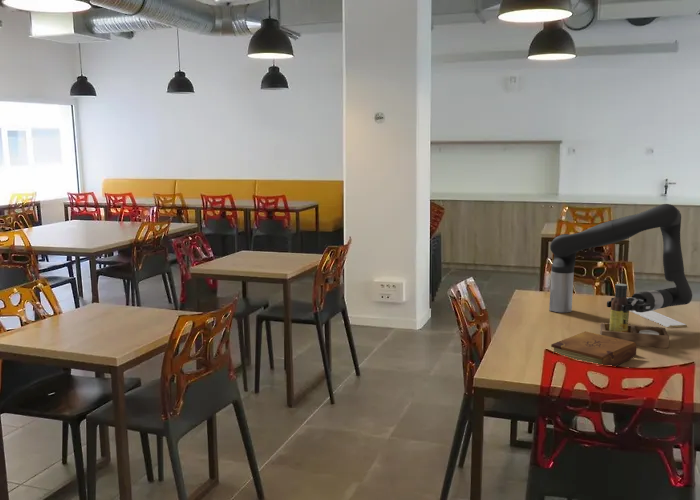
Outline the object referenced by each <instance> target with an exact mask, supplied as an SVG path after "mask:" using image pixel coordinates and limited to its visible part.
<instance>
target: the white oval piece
mask: <svg viewBox="0 0 700 500" xmlns="http://www.w3.org/2000/svg"><path fill="white" fill-rule="evenodd" d="M639 333H642V334H654V335H659V333H658V332H656V331H651V330H641V331H639Z"/></svg>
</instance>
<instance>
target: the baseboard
mask: <svg viewBox="0 0 700 500" xmlns="http://www.w3.org/2000/svg"><path fill="white" fill-rule="evenodd" d="M629 313H633V314H635V315H637V316H639V315H640V317H642V318H644V319H646V320H648V319H649V320H648V321H651V322H653V321H654V323H655V322H656V323H655V324H657V323H659V324H658V325H660V324H661V325H660V326H662V325H663V326H662V327H664V326H665V327H664V328H666V327H673V328H687V327H688V325H687V324H686V323H683V322H681V321H678V320H676V319H674V318H671V317H668V316H666V315H664V314H661V313H659V312H657V311H656V310H653V311H647V312H641V313H640V312H636V311H629Z"/></svg>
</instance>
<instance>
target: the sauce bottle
mask: <svg viewBox="0 0 700 500" xmlns="http://www.w3.org/2000/svg"><path fill="white" fill-rule="evenodd" d="M614 285H615V286H614V287H615V288H614V289H615V293H614V297H613V298H614V299H613V300H612V302H611V307H610V313H609V315H610V316H609V323H610V326H609V331H617V332H628V325H629V315H630V314H629V313H630V311H625V312H624V311H622V305H627V304H628V301H627V298H628V297H627V290H628V284H626V283H615V284H614Z"/></svg>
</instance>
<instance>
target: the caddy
mask: <svg viewBox="0 0 700 500" xmlns="http://www.w3.org/2000/svg"><path fill="white" fill-rule="evenodd" d="M609 326H610V322H600V332H599V334H600V335H604V336H609V337H613V338H618V339H622V340H627V341H632V342H635V343H636V345H637V347H647V348H648V347H649V348H657V349H659V348H661V349H669V344H670V343H669V342H670V335H669V333H668V331H667V330H666V327H664V326H661V327H660V326H649V325H635V324H634V325H633V324H628V332H617V331H609ZM641 330H651V331H656V332H658V333H659V335H654V334H642V333H639V331H641Z"/></svg>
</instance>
